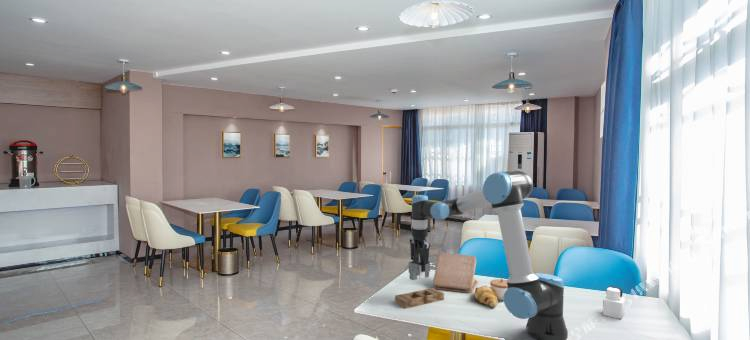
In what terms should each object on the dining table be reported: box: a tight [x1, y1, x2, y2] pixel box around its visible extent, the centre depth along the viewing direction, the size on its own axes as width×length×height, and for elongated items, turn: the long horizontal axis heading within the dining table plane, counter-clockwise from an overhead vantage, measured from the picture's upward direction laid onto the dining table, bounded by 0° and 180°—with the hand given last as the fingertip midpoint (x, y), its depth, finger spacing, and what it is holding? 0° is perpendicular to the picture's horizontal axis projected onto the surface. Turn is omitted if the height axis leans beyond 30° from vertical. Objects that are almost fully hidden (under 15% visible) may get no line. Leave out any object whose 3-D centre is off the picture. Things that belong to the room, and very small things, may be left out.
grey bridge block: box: [408, 259, 431, 281], centre depth 207 cm, size 10×4×8 cm, turn 120°
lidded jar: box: [490, 278, 508, 302], centre depth 210 cm, size 11×11×9 cm
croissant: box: [473, 285, 499, 308], centre depth 207 cm, size 21×10×8 cm, turn 9°
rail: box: [394, 287, 445, 309], centre depth 208 cm, size 22×9×3 cm, turn 120°
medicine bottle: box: [602, 285, 626, 320], centre depth 189 cm, size 7×7×12 cm
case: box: [432, 252, 479, 294], centre depth 230 cm, size 20×21×16 cm
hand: (419, 276), depth 207 cm, fingers closed on grey bridge block, 3 cm apart
